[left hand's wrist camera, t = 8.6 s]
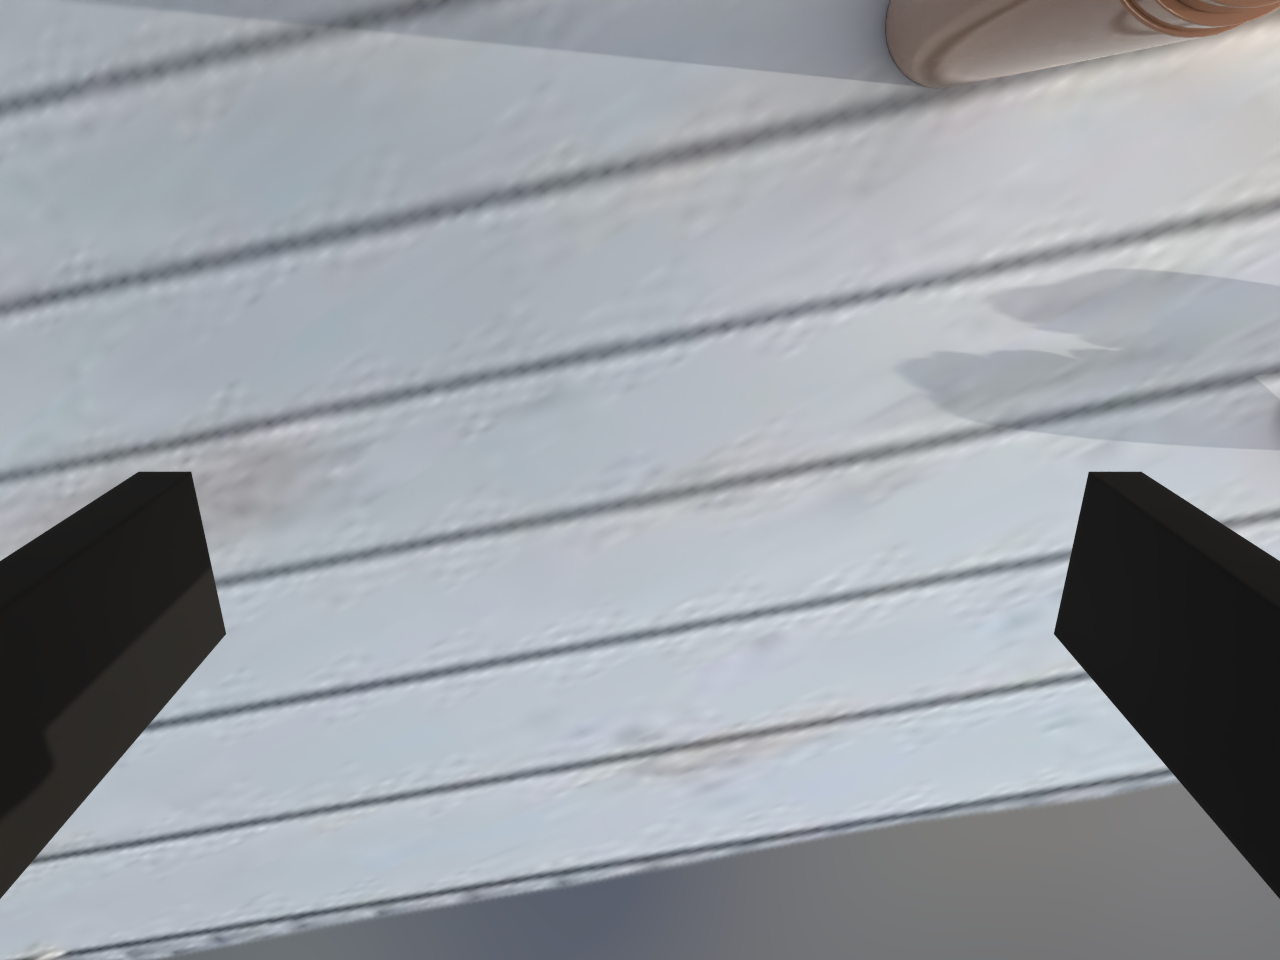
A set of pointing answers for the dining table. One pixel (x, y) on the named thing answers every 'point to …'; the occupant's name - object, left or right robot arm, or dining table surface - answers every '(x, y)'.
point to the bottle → (1043, 32)
